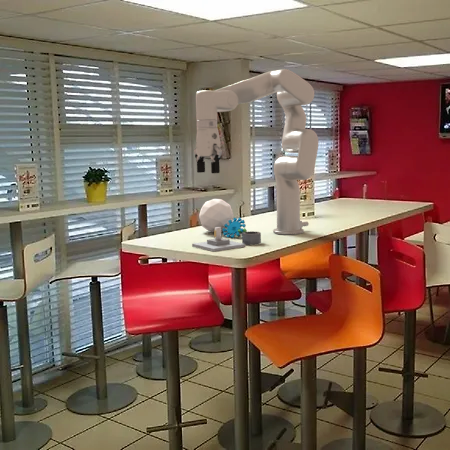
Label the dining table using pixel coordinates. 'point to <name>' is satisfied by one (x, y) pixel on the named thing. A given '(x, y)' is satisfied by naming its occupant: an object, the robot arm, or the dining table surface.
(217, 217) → the geometric sphere
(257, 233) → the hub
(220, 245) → the shaft stand
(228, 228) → the gear
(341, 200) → the dining table surface
